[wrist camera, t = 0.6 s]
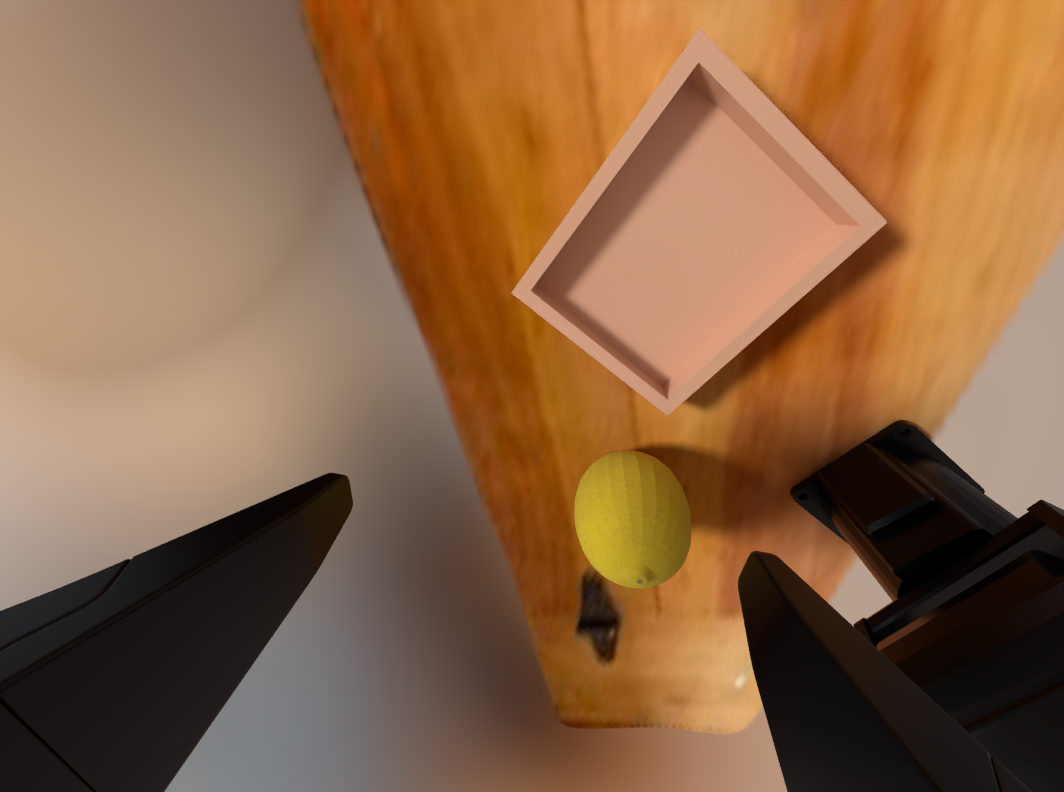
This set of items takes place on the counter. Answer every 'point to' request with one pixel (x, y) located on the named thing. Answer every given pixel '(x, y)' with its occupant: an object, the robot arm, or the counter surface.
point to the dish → (695, 232)
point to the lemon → (633, 519)
